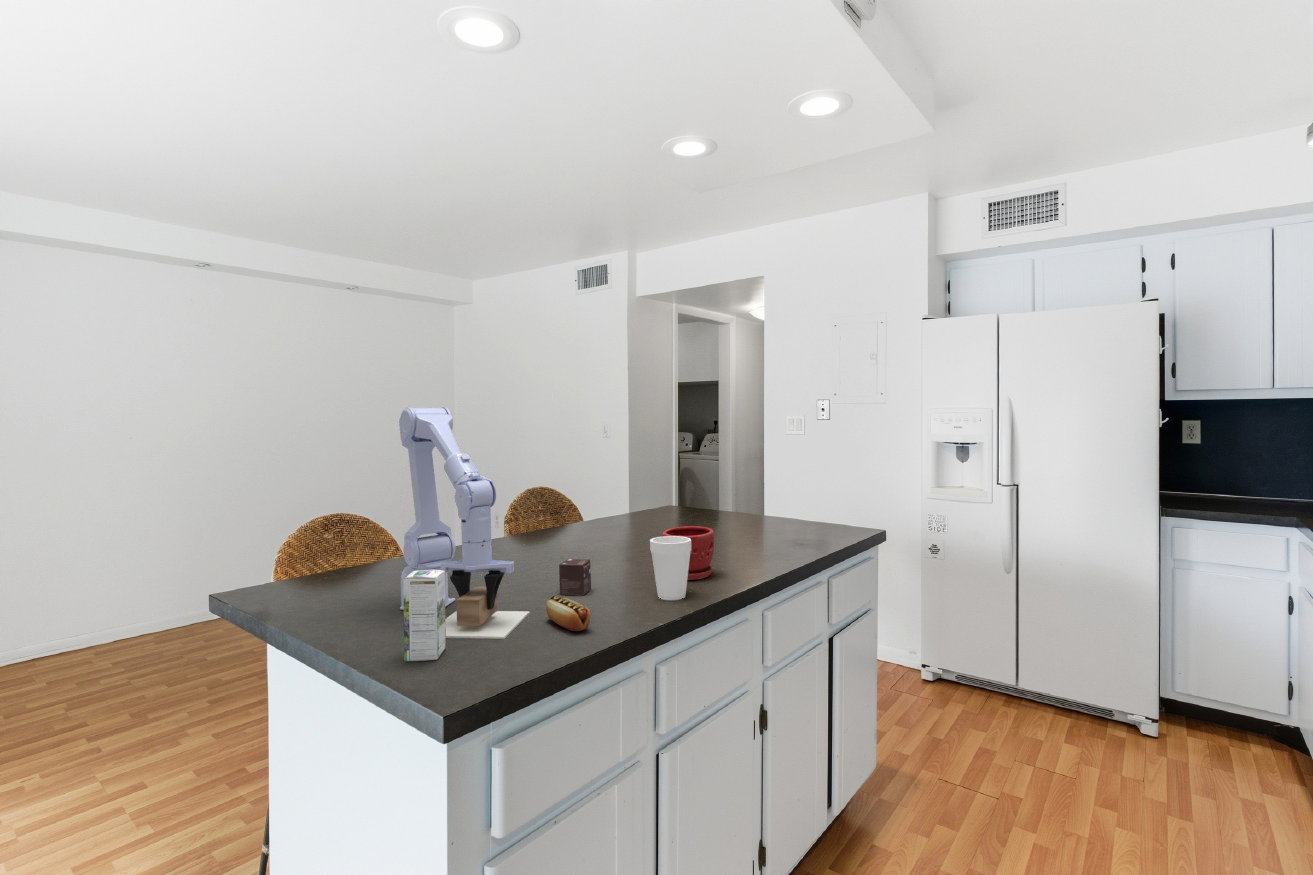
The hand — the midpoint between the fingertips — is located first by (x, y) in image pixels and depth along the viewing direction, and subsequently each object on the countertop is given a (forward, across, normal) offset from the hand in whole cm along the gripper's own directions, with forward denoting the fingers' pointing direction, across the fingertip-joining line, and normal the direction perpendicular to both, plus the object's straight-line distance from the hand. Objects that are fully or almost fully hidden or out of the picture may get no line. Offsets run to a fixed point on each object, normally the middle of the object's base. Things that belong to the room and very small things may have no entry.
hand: (478, 607), depth 131 cm
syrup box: (+4, -3, -17) cm, 18 cm away
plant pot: (+4, +40, +41) cm, 57 cm away
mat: (+3, 0, 0) cm, 3 cm away
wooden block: (+2, 0, 0) cm, 2 cm away
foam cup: (+4, +37, +22) cm, 43 cm away
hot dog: (+4, +18, 0) cm, 18 cm away
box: (+4, +14, +25) cm, 29 cm away
